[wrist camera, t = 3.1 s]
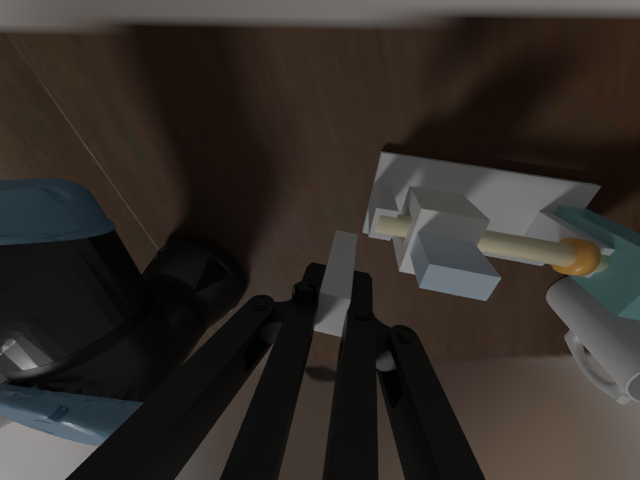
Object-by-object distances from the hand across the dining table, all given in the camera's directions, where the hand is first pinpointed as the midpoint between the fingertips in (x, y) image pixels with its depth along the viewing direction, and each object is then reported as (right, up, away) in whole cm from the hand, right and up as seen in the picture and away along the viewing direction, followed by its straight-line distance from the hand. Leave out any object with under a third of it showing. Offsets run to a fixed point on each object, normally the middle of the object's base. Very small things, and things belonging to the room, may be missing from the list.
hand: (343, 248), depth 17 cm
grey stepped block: (+9, +3, +7) cm, 12 cm away
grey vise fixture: (+15, +4, +11) cm, 19 cm away
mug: (+31, -7, +15) cm, 35 cm away
